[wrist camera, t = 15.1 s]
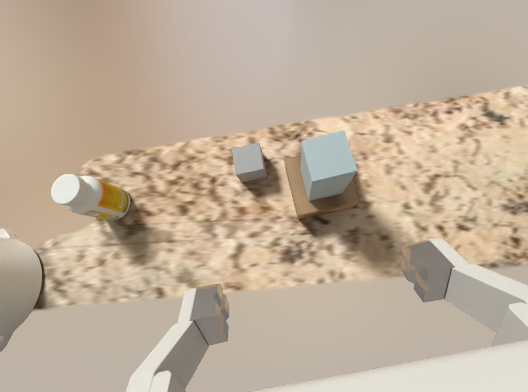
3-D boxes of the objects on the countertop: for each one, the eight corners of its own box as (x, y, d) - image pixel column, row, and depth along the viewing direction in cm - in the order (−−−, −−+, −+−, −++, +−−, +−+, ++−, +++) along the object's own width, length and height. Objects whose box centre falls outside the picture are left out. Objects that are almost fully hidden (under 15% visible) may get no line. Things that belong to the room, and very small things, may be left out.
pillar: (308, 201, 33) (312, 181, 25) (300, 170, 35) (301, 141, 26) (342, 193, 33) (357, 170, 24) (332, 162, 34) (344, 130, 26)
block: (242, 182, 40) (235, 174, 36) (238, 159, 41) (232, 148, 37) (267, 177, 39) (263, 168, 35) (262, 154, 40) (259, 142, 36)
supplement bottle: (112, 227, 41) (57, 218, 31) (95, 204, 42) (38, 189, 33) (138, 204, 41) (91, 188, 32) (120, 182, 42) (70, 160, 33)
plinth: (298, 219, 37) (298, 215, 33) (285, 169, 39) (284, 159, 35) (352, 207, 36) (359, 201, 33) (337, 156, 38) (341, 145, 35)
